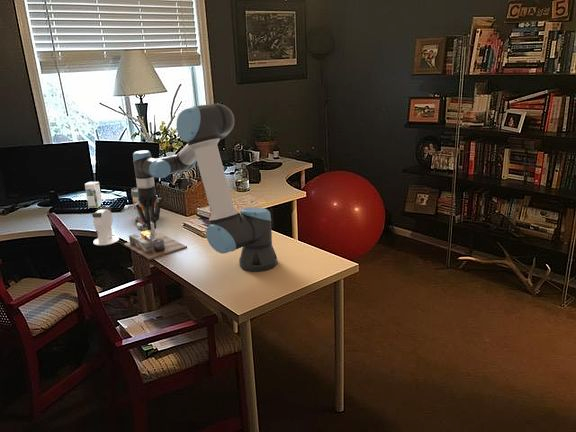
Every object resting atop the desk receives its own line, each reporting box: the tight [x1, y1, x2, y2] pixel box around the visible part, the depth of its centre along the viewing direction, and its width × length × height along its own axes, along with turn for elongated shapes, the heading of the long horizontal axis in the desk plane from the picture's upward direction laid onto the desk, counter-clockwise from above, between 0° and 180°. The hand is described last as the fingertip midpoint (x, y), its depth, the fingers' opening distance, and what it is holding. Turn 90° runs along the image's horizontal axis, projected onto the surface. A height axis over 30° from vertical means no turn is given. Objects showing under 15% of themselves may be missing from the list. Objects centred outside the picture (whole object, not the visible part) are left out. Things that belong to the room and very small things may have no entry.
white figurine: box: [91, 206, 120, 246], centre depth 223 cm, size 12×11×15 cm
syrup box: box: [84, 181, 103, 209], centre depth 274 cm, size 6×6×14 cm
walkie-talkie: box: [135, 216, 151, 232], centre depth 241 cm, size 9×4×20 cm
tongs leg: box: [140, 230, 165, 252], centre depth 215 cm, size 20×4×4 cm, turn 36°
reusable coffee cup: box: [130, 186, 157, 218], centre depth 255 cm, size 13×13×15 cm
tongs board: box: [123, 232, 188, 261], centre depth 215 cm, size 24×18×4 cm
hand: (152, 235), depth 221 cm, fingers closed
